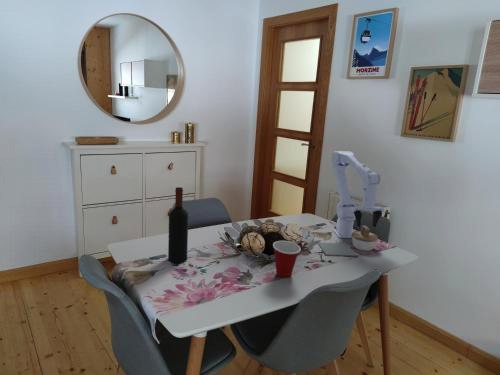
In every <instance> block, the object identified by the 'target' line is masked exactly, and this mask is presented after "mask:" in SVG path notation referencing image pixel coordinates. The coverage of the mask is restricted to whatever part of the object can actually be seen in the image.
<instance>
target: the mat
mask: <svg viewBox="0 0 500 375" xmlns="http://www.w3.org/2000/svg"><path fill="white" fill-rule="evenodd" d="M317 244H318V246H319V248H321V250H322V251H323V253H324V254H325V256H327V257H328V256H330V257H331V256H333V257H334V256H335V257H339V256H340V257H357V254H356V252H354V250H353V249H352V248H351V247H350V246H349V245H348V244H347V242H317Z"/></svg>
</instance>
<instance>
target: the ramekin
mask: <svg viewBox="0 0 500 375" xmlns="http://www.w3.org/2000/svg"><path fill="white" fill-rule="evenodd" d="M351 239H352V246H353V247H354V248H355V249H357V250H360V251H367V252H368V251H372V250H373V249H374V248H375V245H376V242H377V241H373V242H367V241H361V240H358V239H355V238H353V237H352V238H351Z"/></svg>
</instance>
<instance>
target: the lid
mask: <svg viewBox="0 0 500 375" xmlns="http://www.w3.org/2000/svg"><path fill="white" fill-rule="evenodd" d="M351 235H352V237H353V238H355V239H358V240H361V241H367V242H373V241H376V242H377V241H378V238H379V237H378V235H377V234H376V233H373V232H371V229H370V228H369V227H368V226H366V225H361V226H360V230H354V231H352V234H351ZM353 238H352V239H353Z"/></svg>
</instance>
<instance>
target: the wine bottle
mask: <svg viewBox="0 0 500 375" xmlns="http://www.w3.org/2000/svg"><path fill="white" fill-rule="evenodd" d="M174 192H175V198H174V199H175V200H174V201H175V203H174V204H175V205H174V208H172V209H171V210H170V212H169V214H168V249H167V250H168V253H167V254H168V258H167V260H168V261H169V262H170V263H171V264H172V263H173V264H183V263H186V262H187V260H188V238H189V213H188V211H187V210H186V208H184V207H183V202H184V201H183V200H184V199H183V197H184V196H183V195H184V188H183V187H180V186H177V187H175V191H174Z"/></svg>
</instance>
